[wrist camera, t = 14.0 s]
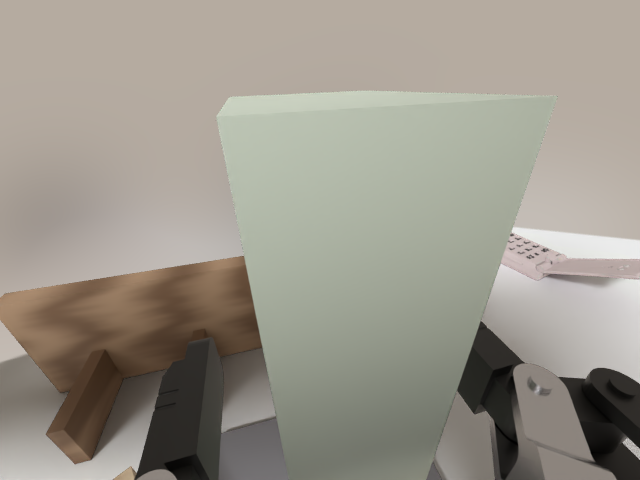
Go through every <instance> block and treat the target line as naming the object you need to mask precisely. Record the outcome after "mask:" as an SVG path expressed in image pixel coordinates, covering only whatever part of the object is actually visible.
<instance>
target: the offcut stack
mask: <svg viewBox="0 0 640 480" xmlns="http://www.w3.org/2000/svg"><path fill="white" fill-rule="evenodd" d="M136 474H137V473H136V472H135V471H134V469H133V468H132V467H129V468H128V469H126V470H125V471H124V472H122V473H121V474H120V475H118V476H117V477H116V478H114V479H113V480H134V479H135V476H136Z"/></svg>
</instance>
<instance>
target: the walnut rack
mask: <svg viewBox="0 0 640 480" xmlns="http://www.w3.org/2000/svg"><path fill="white" fill-rule="evenodd" d="M0 320H1V321H2V323H3V324H4V325H5V326H6V328H8V330H9V331H10V332H11V334H12V335H13V336H14V337H15V338H16V340H17V341H18V342H19V343H20V344H21V346H22V347H23V348H24V349H25V351H26V352H27V353H28V354H29V356H30V357H31V358H32V359H33V360H34V362H35V363H36V364H37V365H38V366H39V368H40V369H41V370H42V371H43V373H44V374H45V375H46V376H47V377H48V379H49V380H50V381H51V382H52V383H53V385H54V386H55V387H56V388H57V390H58V391H59V392H60V393H62V392H66V391H70V392H69V393H68V395H67V397H66V399H65V401H64V402H63V404H62V406H61V408H60V410H59V411H58V413H57V415H56V417H55V418H54V420H53V422H52V424H51V426H50V427H49V429H48V431H47V433H46V435H47V436H48V437H49V438H50V439H51V440H52V441H53V442H54V443H55V444H56V445H57V446H58V447H59V448H60V449H61V450H62V451H63V452H64V453H65V454H66V455H67V456H68V457H69V458H70V459H71V461H72V462H73V463H74V464H77V463H81V462H85V461H88V460H91V459H92V456H93V454H94V451H95V449H96V446H97V444H98V441H99V439H100V436H101V434H102V431H103V429H104V426H105V423H106V421H107V418H108V416H109V413H110V411H111V408H112V406H113V403H114V401H115V398H116V396H117V393H118V391H119V388H120V386H121V383H122V381H123V379H124V378H128V377H133V376H137V375H142V374H146V373H151V372H155V371H159V370H164V369H168V368H169V367H170V366H171V364H172V363H173V362H174V361H179V360H183V359H185V355H186V350H187V345H188V343H189V342H191V341H196V340H200V339H205V338H210V337H212V338H213V339H214V342H215V345H216V348H217V351H218V355H219V357H222V356H226V355H231V354H235V353H240V352H244V351H248V350H253V349H257V348H262V343H261V338H260V333H259V328H258V323H257V318H256V313H255V308H254V303H253V298H252V293H251V288H250V283H249V278H248V273H247V268H246V263H245V258H244V256H240V257H234V258H228V259H221V260H215V261H208V262H203V263H196V264H189V265H183V266H177V267H171V268H165V269H158V270H152V271H145V272H139V273H132V274H127V275H120V276H114V277H107V278H101V279H94V280H88V281H82V282H75V283H69V284H63V285H56V286H51V287H44V288H37V289H31V290H25V291H18V292H12V293H6V294H4V295H3V296H2V297H1V298H0Z"/></svg>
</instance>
